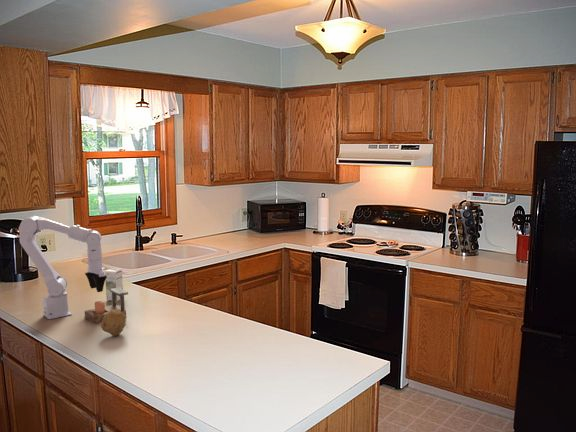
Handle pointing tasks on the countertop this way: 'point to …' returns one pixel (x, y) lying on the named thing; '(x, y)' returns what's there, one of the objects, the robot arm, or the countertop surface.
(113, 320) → the natural sponge
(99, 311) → the peg
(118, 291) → the socket station
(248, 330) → the countertop surface
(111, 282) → the syrup box
